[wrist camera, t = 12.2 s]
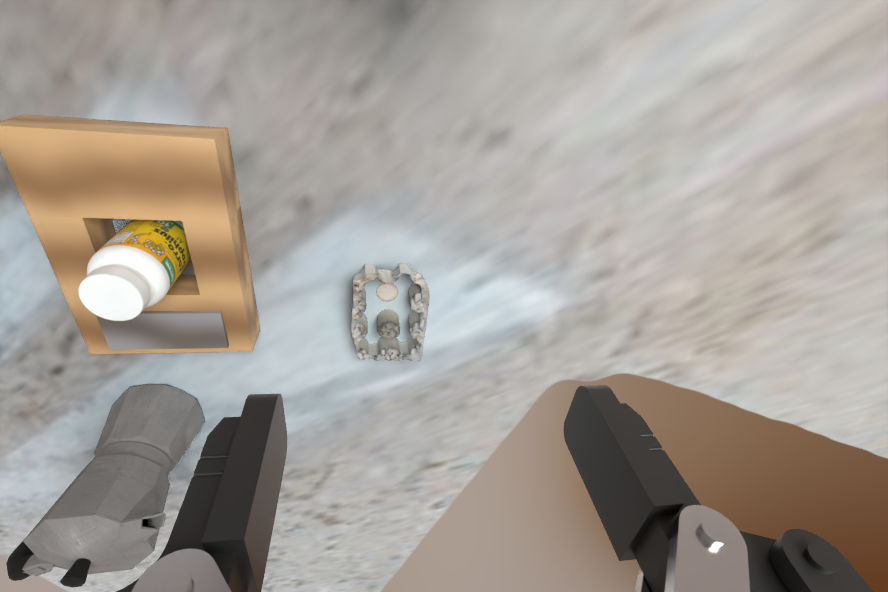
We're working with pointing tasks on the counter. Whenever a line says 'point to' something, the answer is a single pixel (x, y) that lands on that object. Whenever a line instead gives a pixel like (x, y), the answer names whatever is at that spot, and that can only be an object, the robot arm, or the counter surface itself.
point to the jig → (144, 198)
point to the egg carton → (390, 315)
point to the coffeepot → (115, 490)
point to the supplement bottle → (135, 269)
